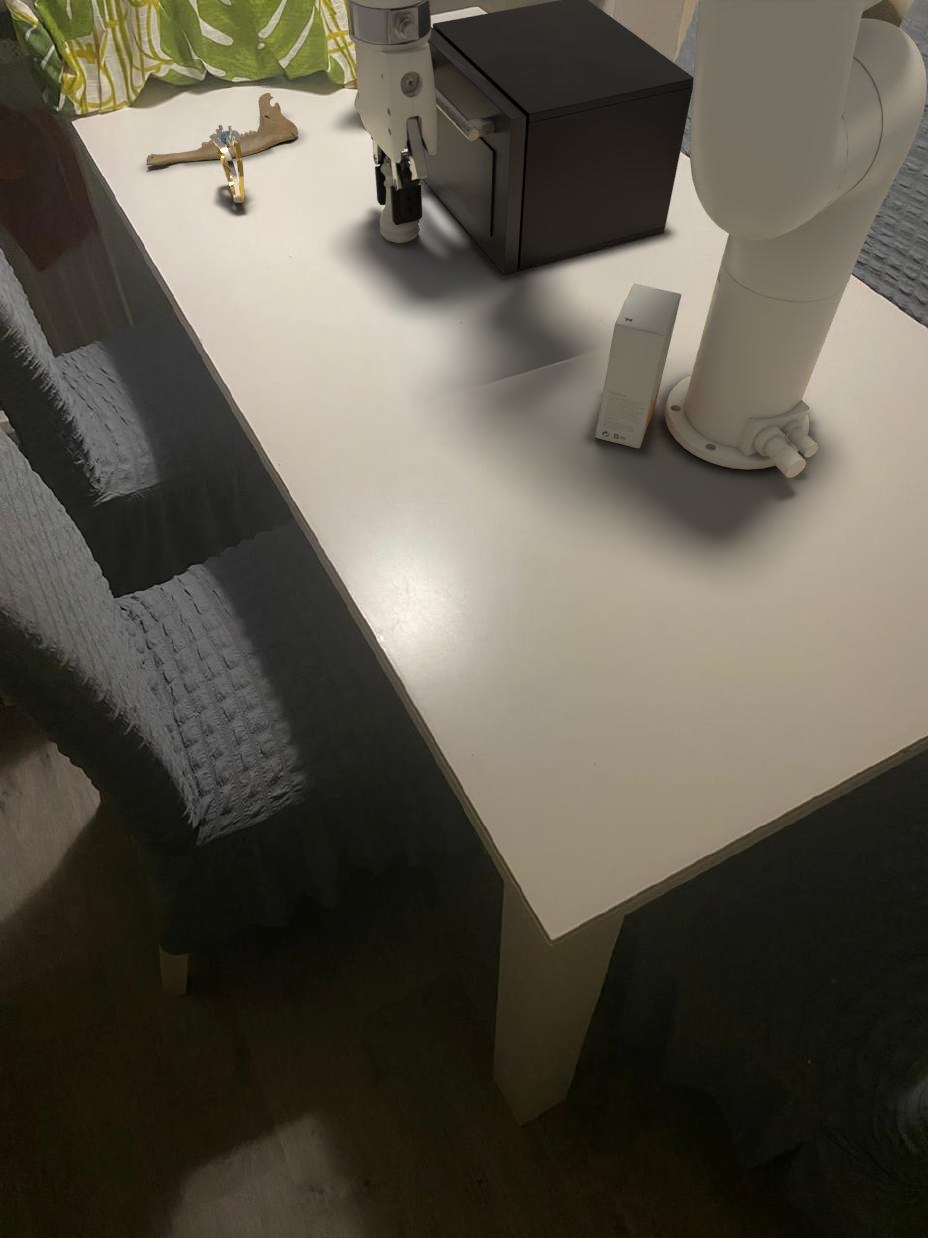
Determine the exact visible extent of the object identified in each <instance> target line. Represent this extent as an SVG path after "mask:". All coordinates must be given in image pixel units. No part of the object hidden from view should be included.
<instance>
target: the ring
mask: <svg viewBox="0 0 928 1238" xmlns="http://www.w3.org/2000/svg"><path fill="white" fill-rule="evenodd" d="M227 127H228V128H227V129H228V130H224V128H223V125H222V124H219V125H218V128H216V129H215V133H212V134H210V135H209V136H208V137H209V140H210V139H211V140H212V141H213V142H214V144H215V147H216V149H217V152H218V155H219V157H220V159H219V160H220V163H221V165H222V169H223V171H224V174H225V176H226V180H227V184H228V186H229V189H230V193H231V195H232V200H233V202H234V203H235V204H243V203H244V201H245V175H244V163H243V156H242V154H241V148H240V143H239V140H240V135H241V133H239V131H237V130H235V129H233V128H232V125H228V126H227ZM233 138H234V141H233ZM230 146H233V150H234V152H235V156H236V157H235V160H236V166H235V163H234V161H233V157H232V158H231V155H230V153H229V152H228V149H230ZM222 152H223V153H222ZM223 154H224V156H223ZM224 157H225V158H224ZM236 167H237V170H236Z"/></svg>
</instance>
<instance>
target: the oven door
mask: <svg viewBox="0 0 928 1238" xmlns="http://www.w3.org/2000/svg"><path fill="white" fill-rule="evenodd" d="M427 42H428V44H429V48H430V53H431V59H432V66H433V73H434V83H435V93H436V107H437V124H438V152H437V154H436V155H429V153H428V152H427V151H426V150H425V149H424V148H423V149H424V154H425V158H426V163H427V168H428V176H427V177H424V178H422V180H423V182H425V183H426V184H427V186H428V187H429V188H430V190H432V191H433V193H434V194H435V195H436V196H437V198H438V199H439V200H440V201H441V202H442V203H443V205H444V206H445V207H446V208H447V209H448V210H449V212H450V213H451V214H452V215H453V216H454V218H455V219H456V220H457V221H458V222H459V223H460V224H461V226H462V227H463V229H465V231H466V232H467V234H469V236H470V237H471V238H472V240H474V241H475V242H476V243H477V245H478V246H479V248H480V249H481V250H482V251H483V252H484V253H485V254H486V255H487V256H488V258H489V259H490V261H492V263H493V264H494V265H495V266H496V267H497V268H498V270H499V271H500V272H501V273H502V275H504V276H505V275H510V274H513V273H516V272H518V269H517V265H518V249H519V232H520V215H521V198H522V182H523V165H524V148H525V131H526V116H525V115H524V114H523V113H522V112H521V111H520V110H519V109H518V108H517V107H516V106H515V105H514V104H513V103H511V102H510V101H509V100H508V99H507V98H506V97H505V96H504V95H503V94H502V93H501V92H500V91H499V90H498V89H497V88H496V87H495V86H493V85H492V84H491V83H490V82H489V81H488V80H487V79H486V78H485V77H484V76H483V75H482V74H481V73H480V72H479V71H478V70H476V69H475V68H474V67H473V66H472V65H471V64H470V63H469V62H468V61H467V60H466V59H465V58H464V57H463V56H462V55H461V54H460V53H458V52H457V51H456V50H455V49H454V48H453V47H452V46H451V45H450V44H449V43H448V42H447V41H446V40H445V39H444V38H443V37H442V36H440V35H439V34H438V33H437V32H436V31H435V30H434V29H433V26H431V37H430V38H429V40H428V41H427Z"/></svg>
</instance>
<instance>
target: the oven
mask: <svg viewBox="0 0 928 1238" xmlns="http://www.w3.org/2000/svg"><path fill="white" fill-rule="evenodd" d="M432 28H433V29H434V30H435V31H436V32H437V33H438V34H439V35H440V36H442V37H443V38H444V39H445V40H446V41H447V42H448V43H449V44H450V45H451V46H452V47H453V48H454V49H455V50H456V51H457V52H458V53H460V54H461V55H462V56H463V57H464V58H465V59H466V60H467V61H468V62H469V63H470V64H471V65H472V66H473V67H474V68H475V69H476V70H478V71H479V72H480V73H481V74H482V75H483V76H484V77H485V78H486V79H487V80H488V81H489V82H490V83H491V84H492V85H493V86H495V87H496V88H497V89H498V90H499V91H500V92H501V93H502V94H503V95H504V96H505V97H506V98H507V99H508V100H509V101H510V102H511V103H513V104H514V105H515V106H516V107H517V108H518V109H519V110H520V111H521V112H522V113H523V114H524V115H525V116H526V131H525V148H524V165H523V182H522V198H521V215H520V232H519V249H518V265H517V271H519V272H524V271H527V270H530V269H535V268H538V267H542V266H545V265H549V264H554V263H557V262H561V261H565V260H567V259H571V258H575V257H580V256H583V255H587V254H590V253H595V252H598V251H602V250H606V249H609V248H613V247H617V246H620V245H625V244H628V243H632V242H635V241H639V240H642V239H643V240H644V239H647V238H651V237H654V236H658V235H662V234H665V231H666V225H667V221H668V216H669V211H670V206H671V200H672V196H673V192H674V191H673V190H674V186H675V180H676V177H677V176H676V175H677V171H678V166H679V160H680V155H681V151H682V144H683V140H684V135H685V131H686V124H687V120H688V114H689V110H690V104H691V101H692V93H693V78H694V76H693V75H691V74H690V73H688V72H687V71H686V70H684V69H683V68H682V67H681V66H679V65H678V64H676V63H675V62H673V61H672V60H671V59H669V58H668V57H667V56H665V55H664V54H662V53H661V52H660V51H658V50H657V49H656V48H654V47H653V46H652V45H651V44H649V43H648V42H646V41H645V40H644V39H642V38H641V37H640V36H638V35H637V34H636V33H634V32H632V31H631V30H630V29H628V27H626V26H624V25H623V24H621V23H620V22H619V21H617V20H616V19H615V18H614V17H612V16H611V15H609V14H608V13H607V12H605V11H604V10H603V9H601V8H600V7H598V6H597V5H595V4H594V3H593V2H591V1H590V0H554V1H553V0H552V1H548V2H543V3H538V4H531V5H526V6H521V7H516V8H509V9H505V10H499V11H494V12H493V11H492V12H488V13H481V14H477V15H472V16H466V17H460V18H455V19H450V20H449V19H448V20H444V21H438V22H434V23H432Z"/></svg>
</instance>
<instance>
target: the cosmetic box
mask: <svg viewBox="0 0 928 1238" xmlns="http://www.w3.org/2000/svg"><path fill="white" fill-rule="evenodd" d="M681 298H682V293H679V292H674V291H670V290H666V289H661V288H658V287H657V288H656V287H652V286H647V285H643V284H639V283H633V284H632V286H631V288H630V290H629V292H628V294H627V296H626V298H625V300H624V301H623V304H622V307H621V309H620V312H619V314H618V316H617V319H616V321H615V324H614V327H613V333H612V338H611V343H610V350H609V355H608V360H607V361H608V362H607V368H606V372H605V378H604V385H603V390H602V395H601V401H600V407H599V412H598V417H597V423H596V430H595V434H594V436H595V437H594V438H596V439H599V440H603V441H607V442H612V443H615V444H617V445H618V444H619V445H622V446H626V447H630V448H634V449H640V448H641V447H642V444H643V441H644V438H645V435H646V432H647V430H648V429H647V428H648V426H649V423H650V421H651V418H652V416H653V413H654V411H655V409H656V404H657V401H658V397H659V393H660V392H659V391H660V388H661V387H660V386H661V385H662V384H661V383H662V379H663V374H664V371H665V368H666V367H665V366H666V362H667V358H668V355H669V350H670V346H671V341H672V336H673V332H674V328H675V324H676V320H677V315H678V311H679V308H680V304H681V303H680V302H681Z"/></svg>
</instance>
